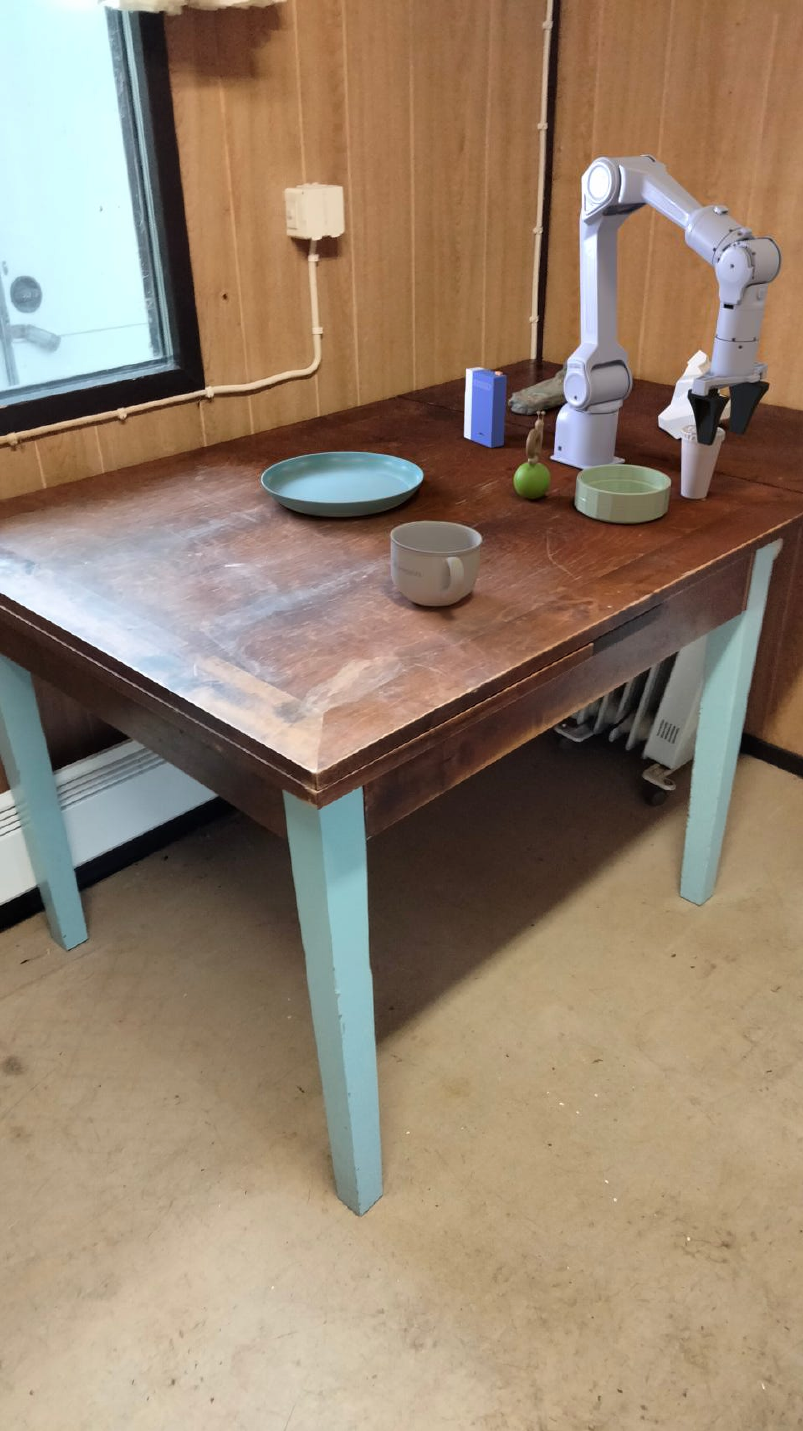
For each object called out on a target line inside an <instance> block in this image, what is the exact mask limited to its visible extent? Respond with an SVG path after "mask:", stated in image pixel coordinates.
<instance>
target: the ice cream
mask: <svg viewBox="0 0 803 1431" xmlns="http://www.w3.org/2000/svg"><path fill="white" fill-rule="evenodd" d="M709 359H710V358H709V355H708V354H707V353H705V352H704V351H702V350H701V349H699V350H698V351H697V352H696V353H695V354H693V356H692V357H691V358H690V359H689V360H688V361H687V362H686V363H687V366H686V368H685V371H684V372H683V374H682V375H681V377H680V378H679V379H678V380H677V381H676V383H675V387H674V391H673V396H672V398H671V402H670V404H669V405H668V406H667V407H666V408H665V409H664V410H663V411H662V412H661V413H660V414H659V415H658V417H657V418H658V427H659V428H661V429H662V430H664V431H666V432H667V433H668V434H669V435H670V436H672V437H673V438H674V439H676V440H679V439H682V438H681V437H680V433H681V428H683V427H684V426H688V425H696V424H695V418H694V413H693V410H692V407H691V404H690V402H689V400H688V398H687V395H688V390H690V389H692V387H693V380H694V379H695V378H698V377H700V376H701V375H703V374H704V373H705V372H706V371H708V370H709V369H710V368H711V361H710V360H709ZM718 393H720V396H724V397H727V396H726V395H723V394H721V389H719V390H718ZM730 407H731V405H730V400H729V401H728V403H727V405H726V407H725V408H724V410H723V413H722V415H721V418H720V421H719V424H718V425H720V424H722V423H723V422H725V421H726V420H728V419H730Z"/></svg>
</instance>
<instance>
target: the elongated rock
mask: <svg viewBox="0 0 803 1431" xmlns="http://www.w3.org/2000/svg"><path fill="white" fill-rule="evenodd" d="M567 360H568V359H566V360H565V361H564V363H563V364H562V369H561V370H559V371H557V372H556V374H555V376H554V377H552V378H550V379H549V378H548V379H545V380H543V381H541V382H538V383H536V384H534V385H531V386H529V387H526V388H523V389H521V390H520V391H516V392H512V397H510V398H509V399H508V403H507V406H508V407H511V408H510V410H511V411H512V412H514V413H516V414H519V415H524V416H525V415H526V416H531V415H536V414H537V412H538V411H540V412H543V411H544V410H545V411H546V410H549V409H551V408H556V407H558V406H559V407H560V406H564V405H565V404H567V403H568V402H567V400H566V398H565V394H564V380H565V377H566V374H567ZM597 364H602V363H597ZM597 364H595V365H597Z"/></svg>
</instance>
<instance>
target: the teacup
mask: <svg viewBox="0 0 803 1431" xmlns="http://www.w3.org/2000/svg"><path fill="white" fill-rule="evenodd" d="M389 539H390V577H391V580H392V583H393V585H394V587H395V588H396V589H397V590H398V591H399V592H400V593H401V594H403V596H404V597H405V598H406V599H408V600H409V601H410V602H412V603H415V604H418V605H422V606H427V607H444V606H451V605H453V604H456V603H457V602H459V601H460V600H461V599H462V598H464V597H466V596H467V595H469V594H470V593H471V592H472V591H473V589H474V588H475V586H476V583H477V580H478V576H479V569H480V560H481V551H482V550H481V549H482V545H483V536H482V535H481V533H480V532H479V531H478V530H475V529H474V528H471V527H469V526H467V525H463V524H460V523H455V522H449V521H438V520H437V521H436V520H421V521H412V522H407V523H403V524H400V525H398V526H396V527H395V528H393V529H392V530H391V532H390V534H389Z"/></svg>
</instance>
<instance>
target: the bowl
mask: <svg viewBox="0 0 803 1431" xmlns="http://www.w3.org/2000/svg"><path fill="white" fill-rule="evenodd" d="M671 486H672V479H671V478H670V477H669V476H668V475H667V474H665V473H663V472H662V471H660V470H656V469H654V468H650V467H646V466H640V465H634V464H624V463H622V464H613V465H600V466H594V467H590V468H587V469H581V471H580V472H578V473H577V475H576V481H575V491H574V492H575V493H574V502H573V504H574V506H575V507H576V509H577V511H579V512H580V513H582V514H584V515H585V516H587V517H589V518H592V519H594V520H597V521H602V522H605V523H611V524H642V523H646V522H647V523H648V522H650V521H651V522H652V521H654V520H655V519H659V518H661V517H662V516H664V515H665V514H666V513H668V509H669V508H668V507H669V501H670V494H671Z"/></svg>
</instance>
